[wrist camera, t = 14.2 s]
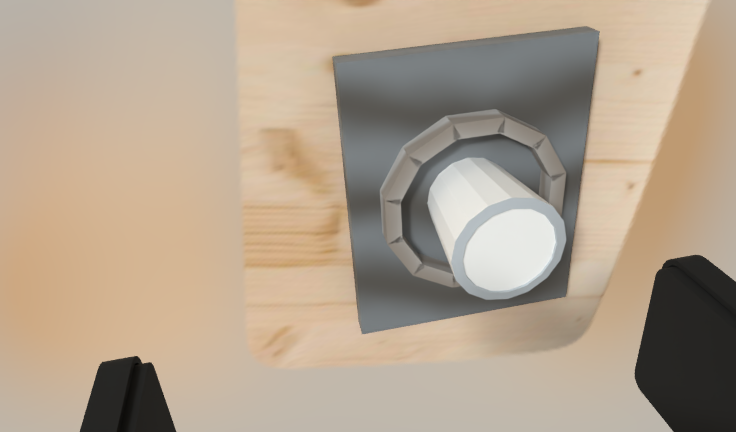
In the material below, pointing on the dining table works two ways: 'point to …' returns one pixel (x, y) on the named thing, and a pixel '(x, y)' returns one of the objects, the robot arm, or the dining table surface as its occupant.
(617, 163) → the dining table surface
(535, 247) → the white cup
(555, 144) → the ring board
